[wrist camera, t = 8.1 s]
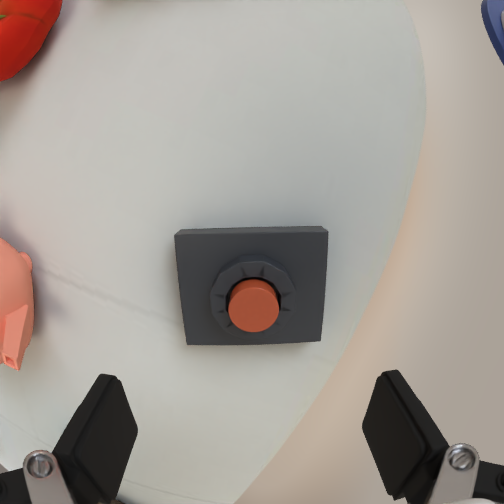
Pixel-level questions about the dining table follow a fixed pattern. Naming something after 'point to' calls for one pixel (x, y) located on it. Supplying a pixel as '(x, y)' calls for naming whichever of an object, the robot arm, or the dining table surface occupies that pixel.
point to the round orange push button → (253, 305)
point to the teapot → (15, 304)
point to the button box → (252, 267)
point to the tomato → (23, 31)
